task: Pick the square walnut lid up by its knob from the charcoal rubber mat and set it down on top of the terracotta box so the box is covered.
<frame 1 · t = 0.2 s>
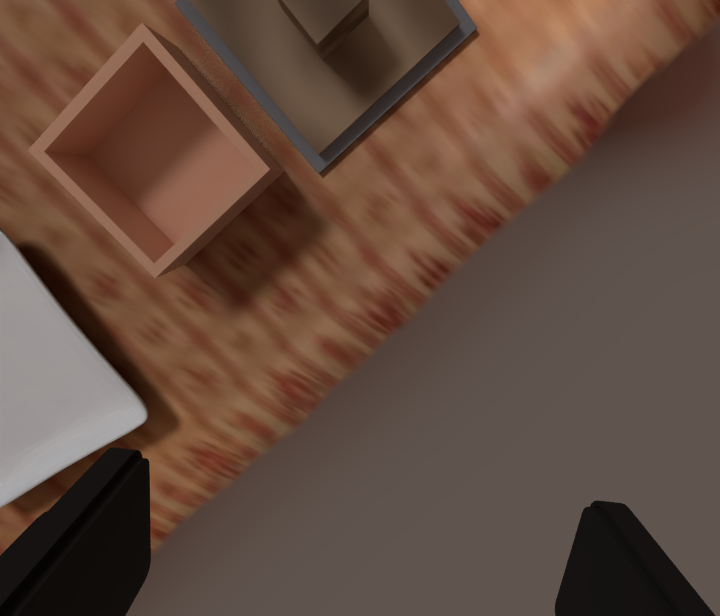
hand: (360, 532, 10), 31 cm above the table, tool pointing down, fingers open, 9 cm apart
terracotta box: (183, 162, 37), on the table
salad plate: (13, 366, 43), on the table
walnut lid: (326, 15, 33), resting on rubber mat
rubber mat: (326, 17, 34), on the table
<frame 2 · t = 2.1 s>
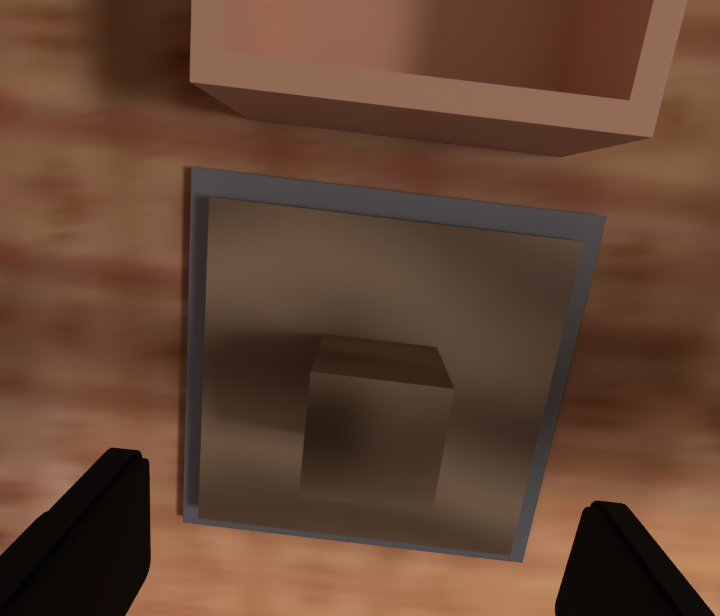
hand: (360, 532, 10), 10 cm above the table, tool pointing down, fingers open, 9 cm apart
walnut lid: (373, 384, 19), resting on rubber mat
rubber mat: (373, 381, 20), on the table
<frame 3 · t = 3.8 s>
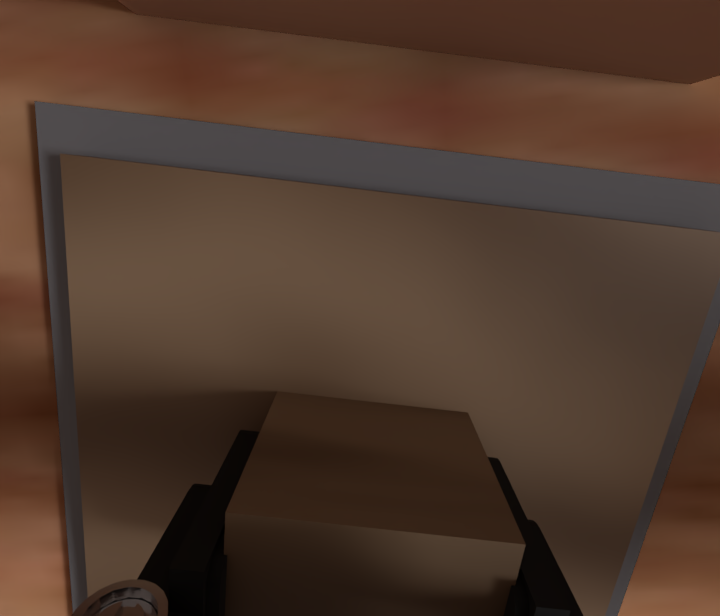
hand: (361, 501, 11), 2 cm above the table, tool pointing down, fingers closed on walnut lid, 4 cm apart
walnut lid: (362, 464, 12), resting on rubber mat, touching gripper
rubber mat: (362, 455, 12), on the table
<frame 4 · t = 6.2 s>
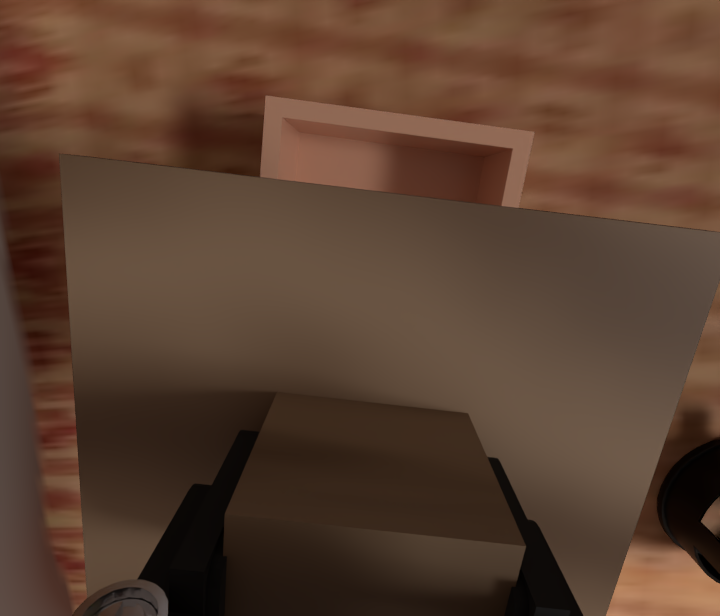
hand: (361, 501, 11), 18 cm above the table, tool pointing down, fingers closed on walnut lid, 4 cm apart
terracotta box: (378, 236, 27), on the table
walnut lid: (362, 464, 12), point 17 cm above the table, touching gripper
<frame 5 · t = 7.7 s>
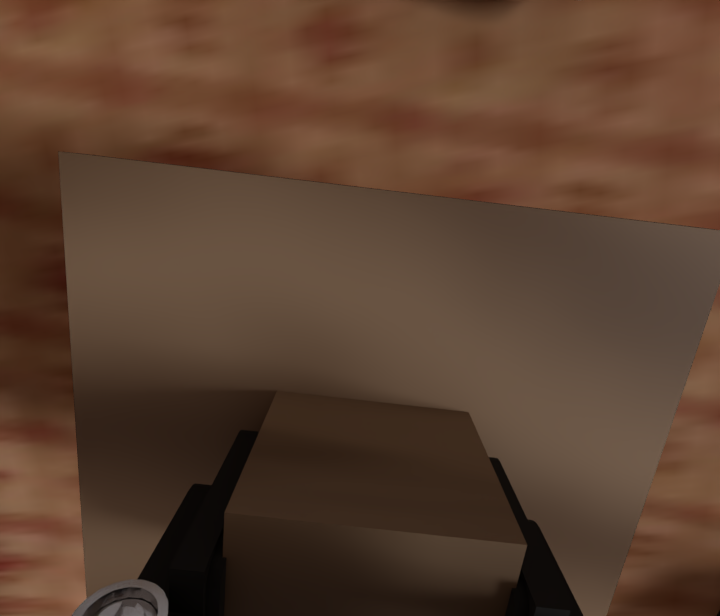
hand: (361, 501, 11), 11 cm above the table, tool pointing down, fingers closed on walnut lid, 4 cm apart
walnut lid: (362, 463, 12), point 10 cm above the table, touching gripper
when the fingers open (9 cm above the table, at t = 8.9 s): walnut lid drops 1 cm, resting on terracotta box.
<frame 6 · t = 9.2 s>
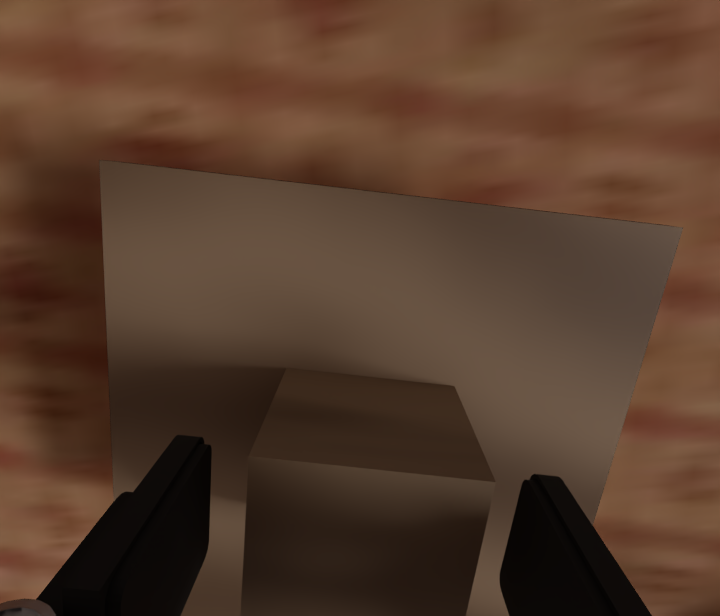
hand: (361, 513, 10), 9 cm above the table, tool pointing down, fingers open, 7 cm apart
walnut lid: (361, 434, 13), point 6 cm above the table, touching terracotta box
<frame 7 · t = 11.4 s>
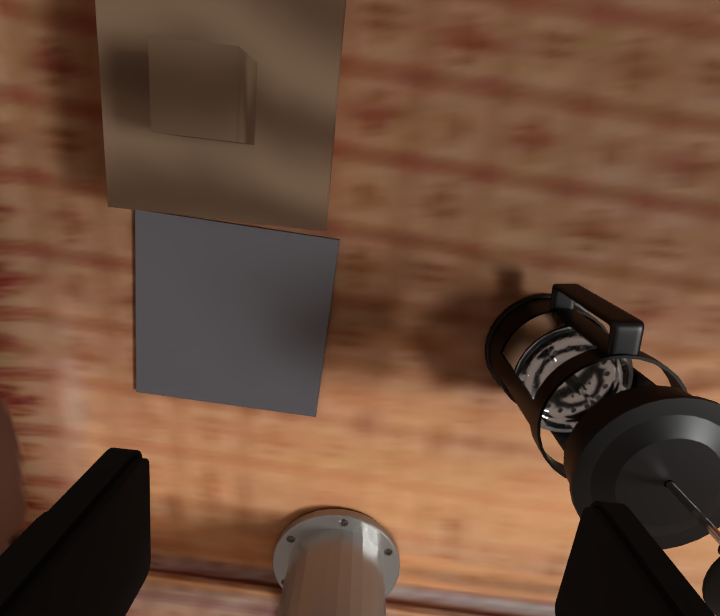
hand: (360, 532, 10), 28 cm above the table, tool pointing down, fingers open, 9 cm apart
french press: (540, 340, 38), on the table
walnut lid: (222, 102, 28), point 6 cm above the table, touching terracotta box
rubber mat: (233, 318, 38), on the table
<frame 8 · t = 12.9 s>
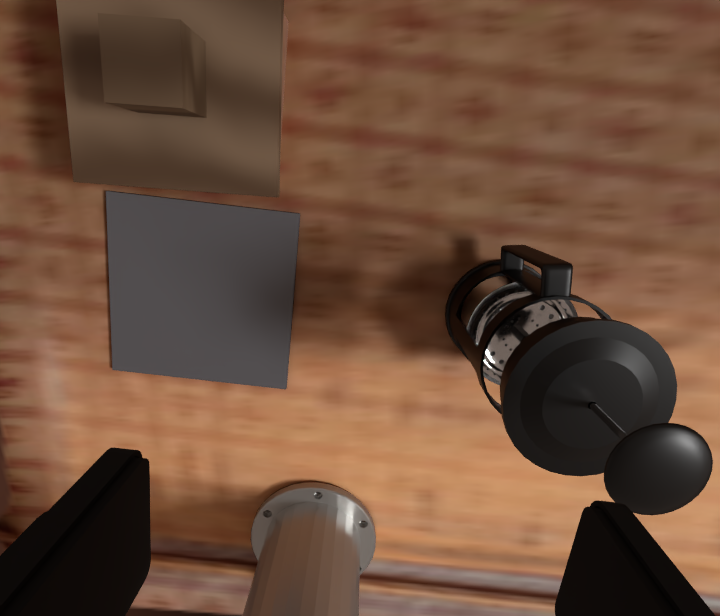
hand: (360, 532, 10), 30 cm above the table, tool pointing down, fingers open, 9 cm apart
terracotta box: (208, 99, 36), on the table, touching walnut lid
french press: (497, 306, 40), on the table
walnut lid: (176, 80, 30), point 6 cm above the table, touching terracotta box
rubber mat: (202, 294, 40), on the table
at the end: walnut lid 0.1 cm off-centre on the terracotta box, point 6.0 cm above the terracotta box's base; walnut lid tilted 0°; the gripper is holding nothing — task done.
